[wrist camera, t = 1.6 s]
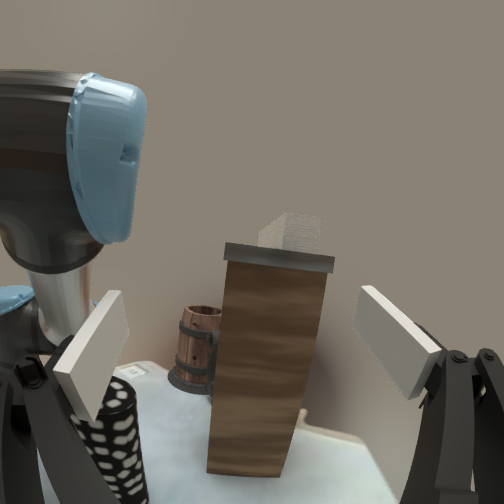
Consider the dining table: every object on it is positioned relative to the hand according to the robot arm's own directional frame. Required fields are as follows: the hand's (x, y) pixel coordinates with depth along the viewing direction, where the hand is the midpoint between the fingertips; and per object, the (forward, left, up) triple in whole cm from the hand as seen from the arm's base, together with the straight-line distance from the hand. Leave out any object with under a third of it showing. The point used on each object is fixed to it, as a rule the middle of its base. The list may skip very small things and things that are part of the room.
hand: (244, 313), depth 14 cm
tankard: (-46, +19, -34) cm, 60 cm away
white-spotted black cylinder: (-14, -8, -34) cm, 37 cm away
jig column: (-19, +15, -33) cm, 41 cm away
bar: (-19, +15, +4) cm, 24 cm away
